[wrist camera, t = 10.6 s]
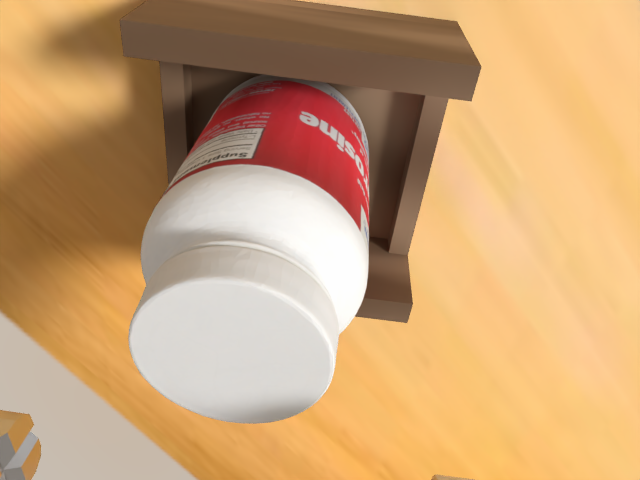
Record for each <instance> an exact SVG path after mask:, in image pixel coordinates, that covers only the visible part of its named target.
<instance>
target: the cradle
mask: <svg viewBox="0 0 640 480" xmlns="http://www.w3.org/2000/svg"><path fill="white" fill-rule="evenodd" d="M120 27H121V36H122V45H123V54H124V56H126V57H133V58H141V59H149V60H156V61H160V75H161V88H162V102H163V115H164V129H165V142H166V156H167V169H168V183H169V184H170V183H171V182H172V180H173V178H174V177H175V175H176V173H177V172H178V170H179V168H180V167H181V165H182V164H183V162H184V160H185V159H186V157H187V156H188V154H189V153H190V151H191V149H192V148H193V146H194V144H195V143H196V141H197V139H198V138H199V136H200V135H201V133H202V131H203V130H204V128H205V127H206V125H207V124H208V122H209V120H210V119H211V117H212V115H213V114H214V112H215V111H216V109H217V108H218V106H219V105H220V103H221V102H222V101H223V100H224V98H225V97H226V96H227V95H228V94H229V93H230V92H231V91H232V90H233V89H235V88H236V87H237V86H239V85H240V84H242V83H244V82H245V81H247V80H249V79H251V78H254V77H256V76H259V75H263V74H265V75H272V76H280V77H288V78H295V79H303V80H311V81H319V82H326V83H327V84H329V85H330V86H332V87H333V88H335V89H336V90H337V91H339V92H340V93H341V94H342V95H343V96H344V97H345V98H346V99H347V100H348V101H349V102H350V104H351V105H352V106H353V108H354V109H355V111H356V112H357V114H358V116H359V118H360V119H361V122H362V124H363V127H364V130H365V133H366V137H367V141H368V149H369V265H368V279H367V287H366V291H365V294H364V298H363V301H362V303H361V306H360V308H359V309H358V311H357V313H356V315H355V316H356V317H364V318H372V319H380V320H388V321H396V322H404V323H407V322H408V319H409V315H410V312H411V308H412V305H413V302H412V293H411V283H410V274H409V264H408V252H409V248H410V244H411V240H412V236H413V233H414V229H415V225H416V221H417V217H418V213H419V210H420V206H421V202H422V198H423V194H424V191H425V187H426V183H427V179H428V175H429V171H430V168H431V164H432V160H433V156H434V152H435V148H436V145H437V141H438V137H439V133H440V129H441V126H442V122H443V118H444V114H445V110H446V106H447V103H448V99H449V98H450V99H458V100H465V101H472V97H473V94H474V90H475V87H476V83H477V80H478V77H479V73H480V70H481V65H480V63H479V61H478V59H477V58H476V56H475V54H474V52H473V50H472V48H471V46H470V45H469V43H468V41H467V39H466V37H465V35H464V34H463V32H462V30H461V28H460V26H459V24H458V22H457V21H449V20H441V19H434V18H426V17H418V16H411V15H403V14H395V13H388V12H380V11H372V10H365V9H357V8H349V7H342V6H334V5H326V4H319V3H311V2H303V1H296V0H148V1H146V2H145V3H143V4H142V5H140V6H139V7H137V8H136V9H134V10H133V11H131V12H130V13H129V14H127V15H126V16H124V17H123V18H121V19H120Z"/></svg>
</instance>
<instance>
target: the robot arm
mask: <svg viewBox="0 0 640 480" xmlns="http://www.w3.org/2000/svg"><path fill="white" fill-rule="evenodd" d="M33 425H34V424H33V421H32V419H31V416H30V415H29V414H22V413H16V412H9V411H2V410H0V480H31V479H32V477H33V476H34V474H35V472H36V469H37V466H38V463H39V460H40V456H41V445H40V442H39V439H38V437H36V436H35V435H34V434H33V433H31V432H30V430H31V428H32V427H33ZM431 480H473V479H466V478H458V477H450V476H443V475H434V476H433V477H432V479H431Z"/></svg>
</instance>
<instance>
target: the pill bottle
mask: <svg viewBox="0 0 640 480" xmlns="http://www.w3.org/2000/svg"><path fill="white" fill-rule="evenodd" d="M141 264H142V271H143V275H144V279H145V282H146V287H145V290H144V292H143V295H142V298H141V300H140V302H139V304H138V307H137V309H136V311H135V313H134V315H133V318H132V321H131V324H130V328H129V348H130V352H131V355H132V358H133V360H134V363H135V365H136V367H137V369H138V370H139V372H140V373H141V375H142V376H143V377H144V378H145V379H146V380H147V381H148V382H149V383H150V384H151V386H152V387H154V388H155V389H156V390H157V391H158V392H159V393H161V394H162V395H163V396H165V397H166V398H167V399H169V400H171V401H172V402H174V403H176V404H178V405H180V406H182V407H184V408H186V409H188V410H190V411H192V412H195V413H197V414H200V415H202V416H205V417H209V418H213V419H217V420H221V421H227V422H235V423H268V422H274V421H279V420H283V419H286V418H289V417H292V416H294V415H297V414H299V413H301V412H303V411H305V410H306V409H308V408H309V407H311V406H312V405H313V404H315V403H316V402H317V401H318V400H319V399H320V398H321V397H322V395H323V394H324V393H325V392H326V390H327V389H328V387H329V385H330V382H331V380H332V378H333V374H334V369H335V362H336V353H337V346H338V338H339V334H340V333H341V332H342V331H343V330H344V329H345V328H346V327H347V326H348V325H349V323H350V322H351V321H352V319H353V318H354V316H355V315H356V313H357V311H358V309H359V308H360V306H361V303H362V301H363V298H364V294H365V291H366V287H367V279H368V265H369V149H368V141H367V137H366V133H365V130H364V127H363V124H362V122H361V119H360V118H359V116H358V114H357V112H356V111H355V109H354V108H353V106H352V105H351V104H350V102H349V101H348V100H347V99H346V98H345V97H344V96H343V95H342V94H341V93H340V92H339V91H337V90H336V89H335V88H333V87H332V86H330V85H329V84H327V83H326V82H319V81H311V80H303V79H295V78H288V77H280V76H272V75H265V74H263V75H259V76H256V77H254V78H251V79H249V80H247V81H245V82H244V83H242V84H240V85H239V86H237V87H236V88H235V89H233V90H232V91H231V92H230V93H229V94H228V95H227V96H226V97H225V98H224V100H223V101H222V102H221V103H220V105H219V106H218V108H217V109H216V111H215V112H214V114H213V115H212V117H211V119H210V120H209V122H208V124H207V125H206V127H205V128H204V130H203V131H202V133H201V135H200V136H199V138H198V139H197V141H196V143H195V144H194V146H193V148H192V149H191V151H190V153H189V154H188V156H187V157H186V159H185V160H184V162H183V164H182V165H181V167H180V168H179V170H178V172H177V173H176V175H175V177H174V178H173V180H172V182H171V183H170V184H169V186H168V188H167V189H166V191H165V193H164V194H163V196H162V197H161V198H160V200H159V202H158V203H157V205H156V206H155V208H154V210H153V212H152V215H151V217H150V219H149V221H148V223H147V225H146V228H145V231H144V235H143V239H142V246H141Z"/></svg>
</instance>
